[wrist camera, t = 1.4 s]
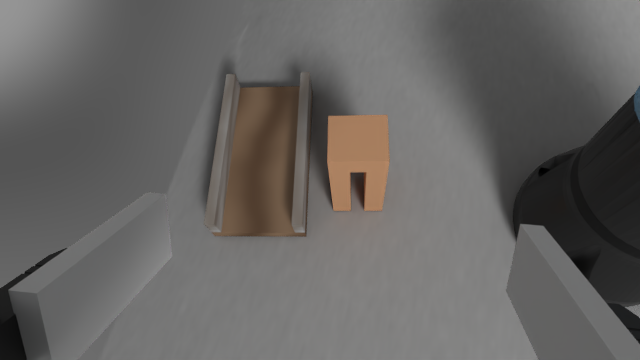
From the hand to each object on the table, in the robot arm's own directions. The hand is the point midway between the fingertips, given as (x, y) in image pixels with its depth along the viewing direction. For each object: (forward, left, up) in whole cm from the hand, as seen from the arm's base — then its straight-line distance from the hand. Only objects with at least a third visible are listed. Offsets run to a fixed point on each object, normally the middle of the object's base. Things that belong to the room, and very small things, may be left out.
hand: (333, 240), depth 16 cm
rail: (+9, -18, -26) cm, 33 cm away
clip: (-1, -14, -26) cm, 30 cm away
